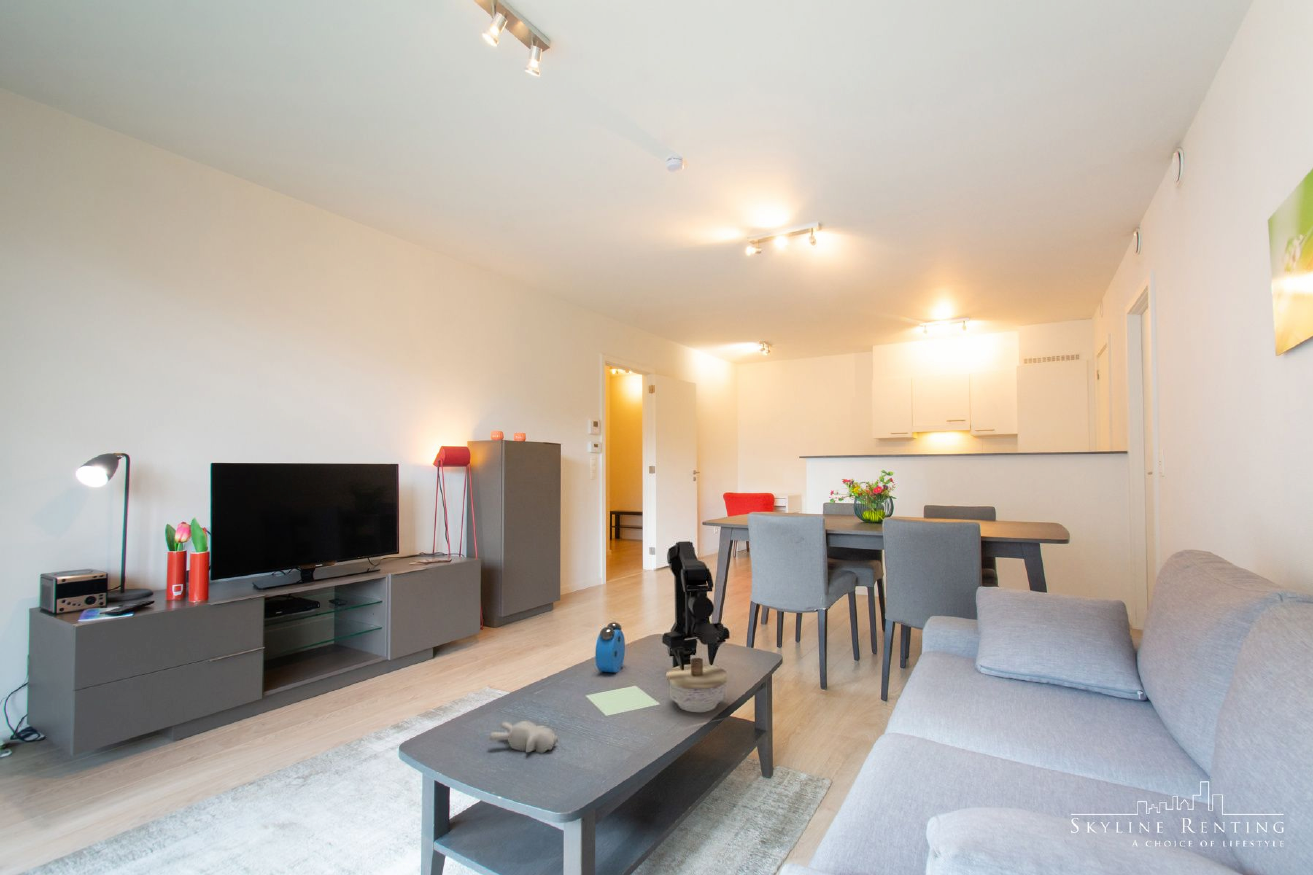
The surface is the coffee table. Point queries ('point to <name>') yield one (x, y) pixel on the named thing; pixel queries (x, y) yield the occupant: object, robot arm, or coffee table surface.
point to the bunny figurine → (526, 736)
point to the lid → (697, 675)
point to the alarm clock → (610, 648)
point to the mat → (621, 700)
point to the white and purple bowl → (697, 697)
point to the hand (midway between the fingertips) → (696, 667)
